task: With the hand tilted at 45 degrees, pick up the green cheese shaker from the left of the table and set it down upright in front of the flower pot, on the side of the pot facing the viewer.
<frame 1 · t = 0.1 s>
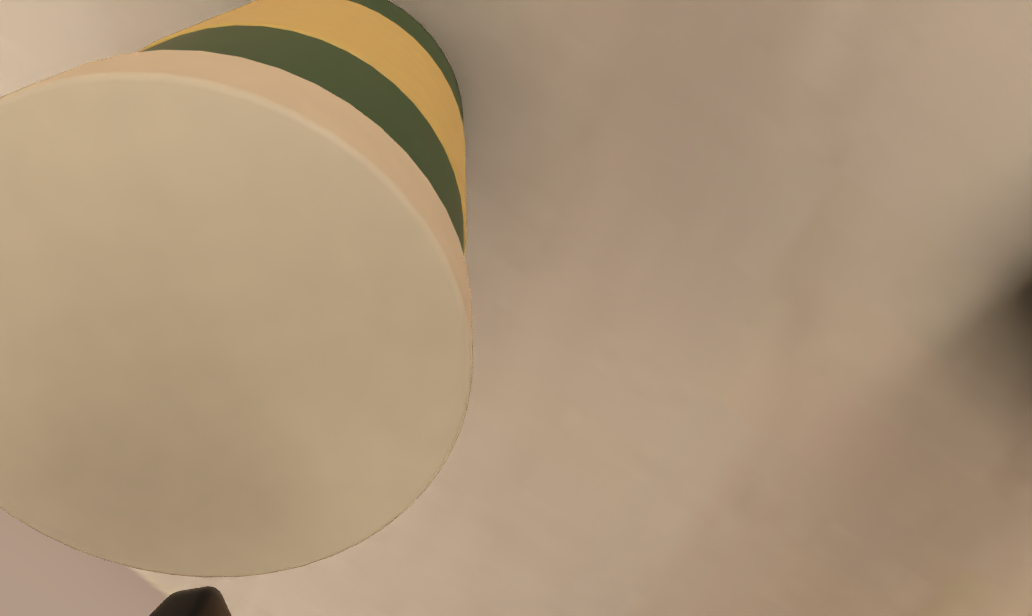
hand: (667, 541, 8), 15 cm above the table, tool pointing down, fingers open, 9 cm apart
cheese shaker: (338, 118, 20), on the table
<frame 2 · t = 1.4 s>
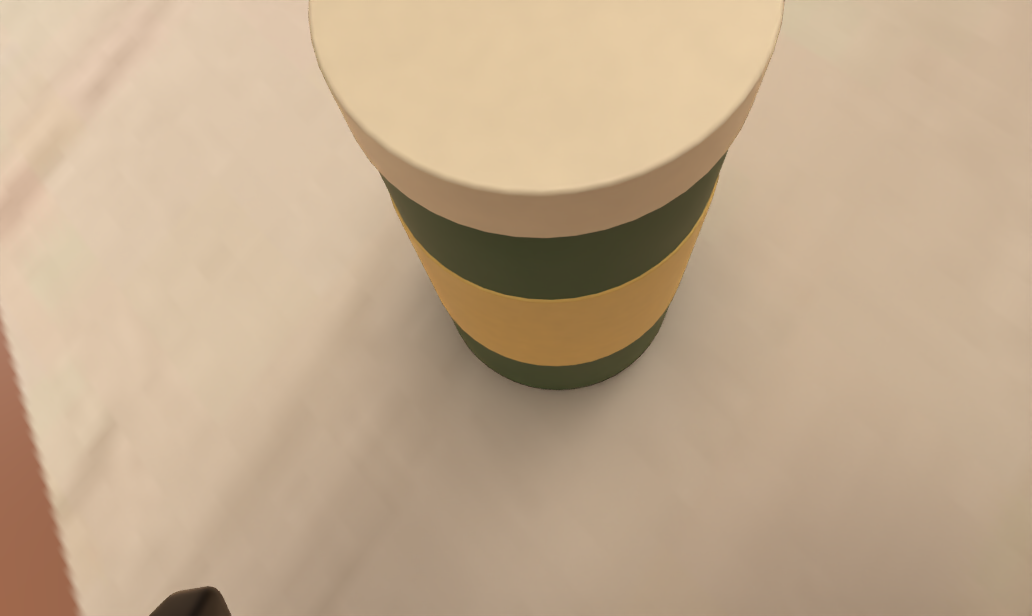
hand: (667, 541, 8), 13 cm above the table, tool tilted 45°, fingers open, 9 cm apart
cheese shaker: (557, 281, 23), on the table
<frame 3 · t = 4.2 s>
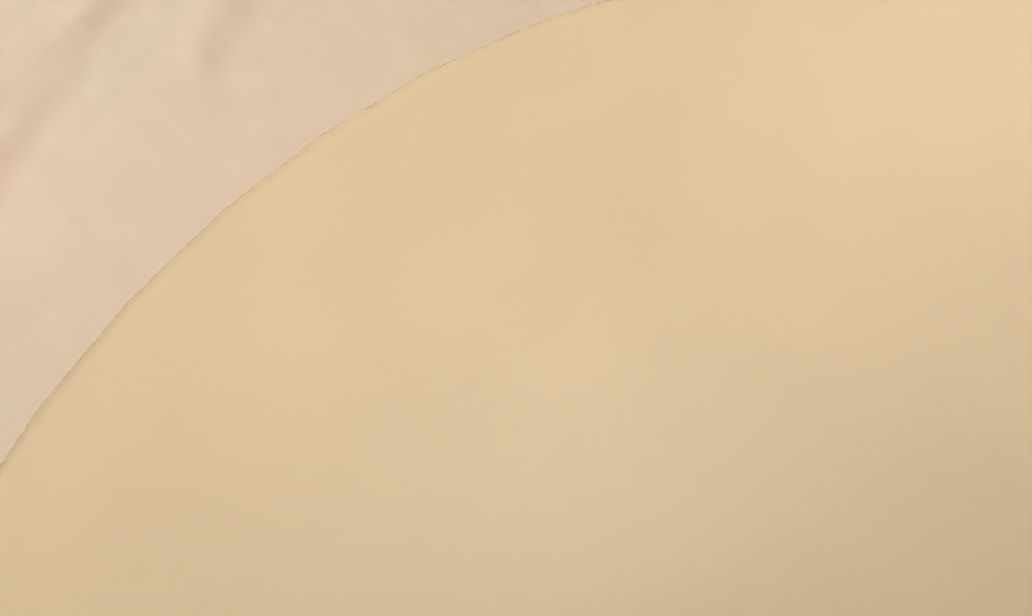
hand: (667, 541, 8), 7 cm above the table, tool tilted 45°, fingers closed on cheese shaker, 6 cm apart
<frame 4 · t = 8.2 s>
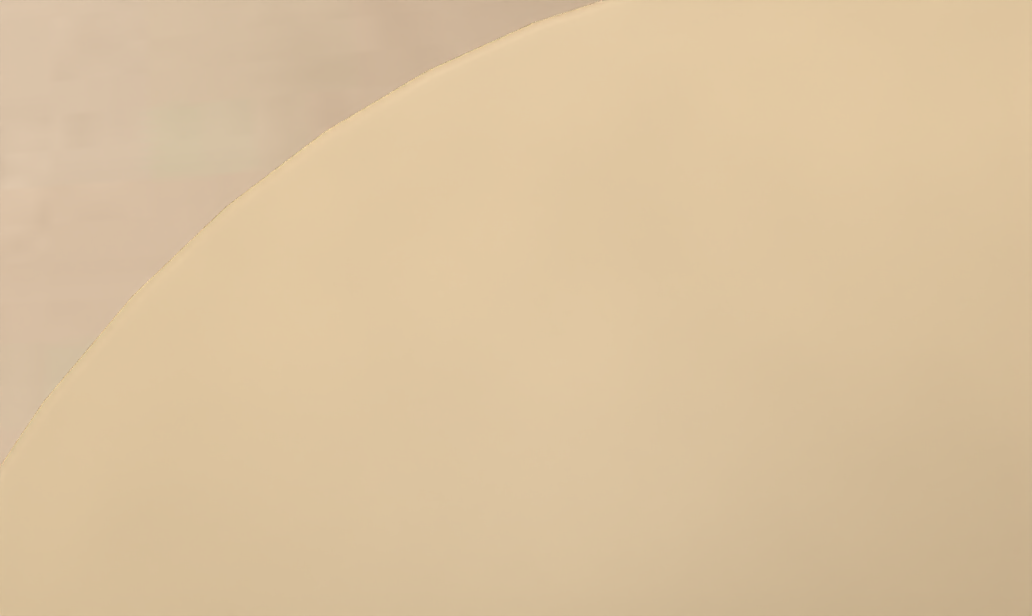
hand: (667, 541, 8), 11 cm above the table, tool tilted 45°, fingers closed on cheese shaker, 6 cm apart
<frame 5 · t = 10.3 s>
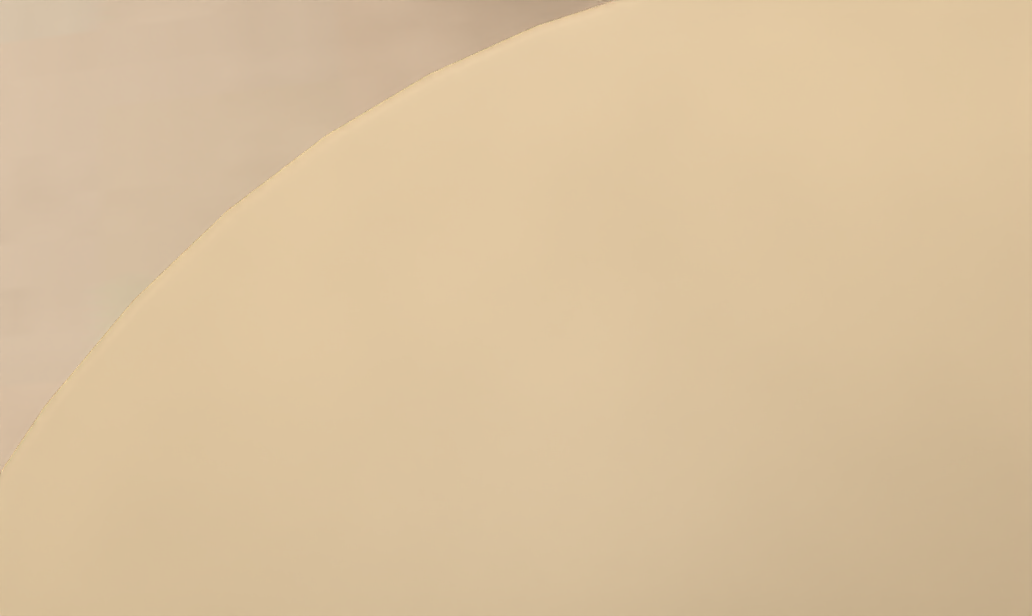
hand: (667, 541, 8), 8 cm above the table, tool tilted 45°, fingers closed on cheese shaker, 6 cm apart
when the fingers open (7 cm above the table, at t = 12.1 s): cheese shaker stays where it is, on the table.
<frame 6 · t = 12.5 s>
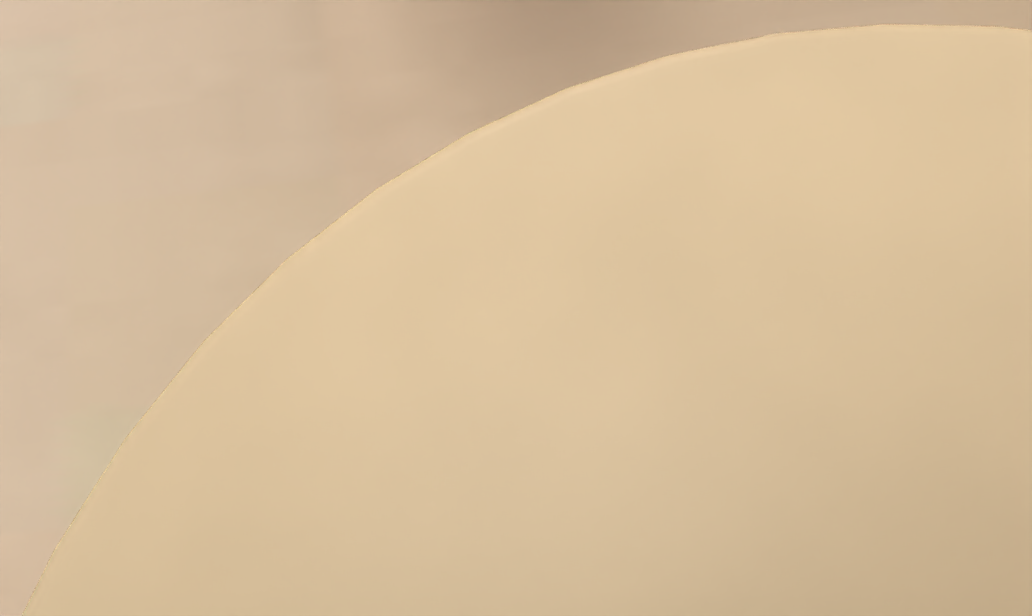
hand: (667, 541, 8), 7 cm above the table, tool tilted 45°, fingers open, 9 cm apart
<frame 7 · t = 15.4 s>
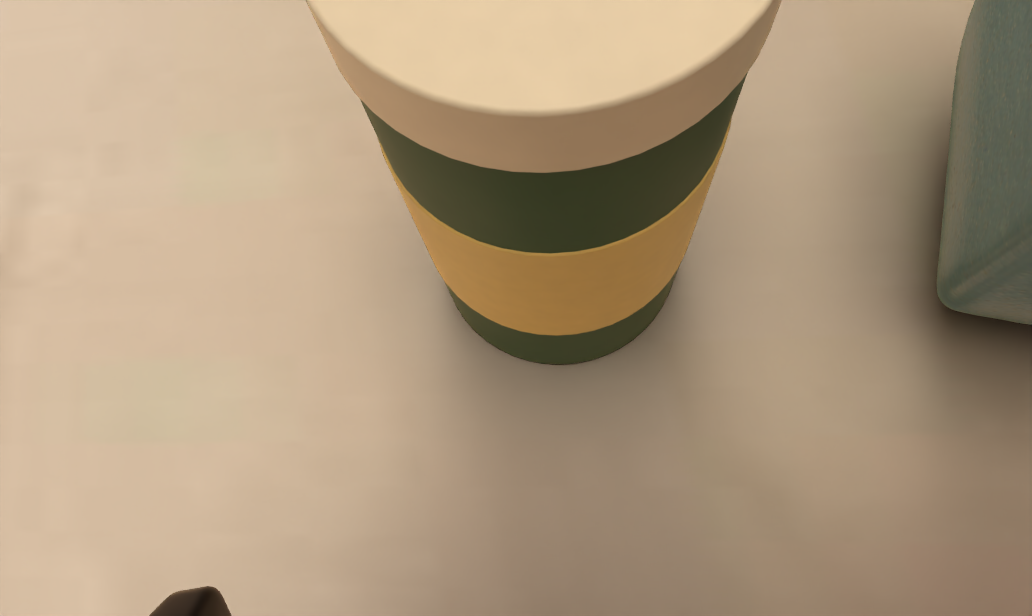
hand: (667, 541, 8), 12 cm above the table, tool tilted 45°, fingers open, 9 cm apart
cheese shaker: (558, 252, 22), on the table
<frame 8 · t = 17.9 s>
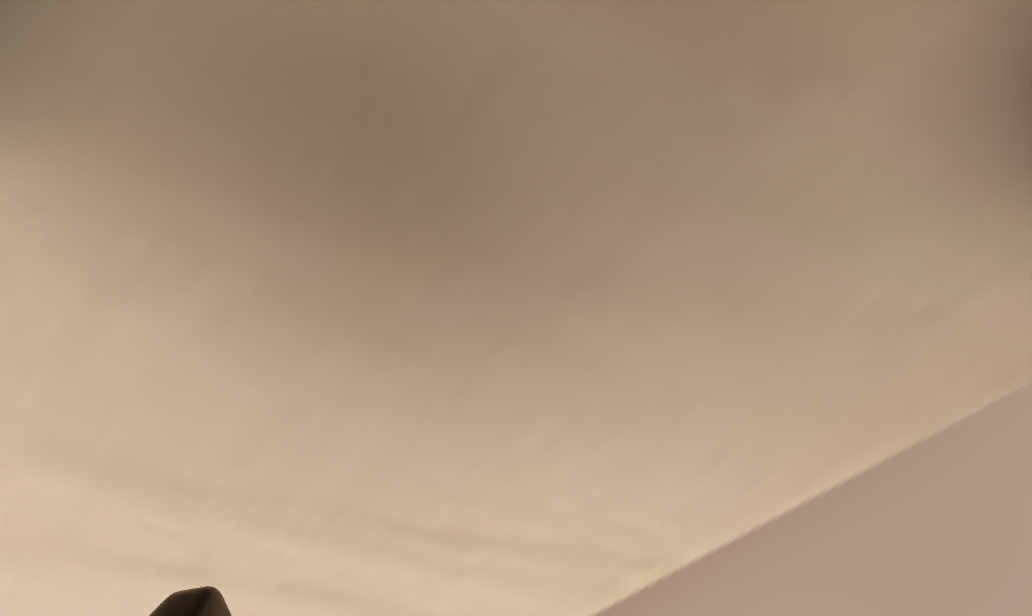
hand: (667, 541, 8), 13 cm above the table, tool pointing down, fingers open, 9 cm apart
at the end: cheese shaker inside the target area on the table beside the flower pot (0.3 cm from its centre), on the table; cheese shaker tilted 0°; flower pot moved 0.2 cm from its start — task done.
